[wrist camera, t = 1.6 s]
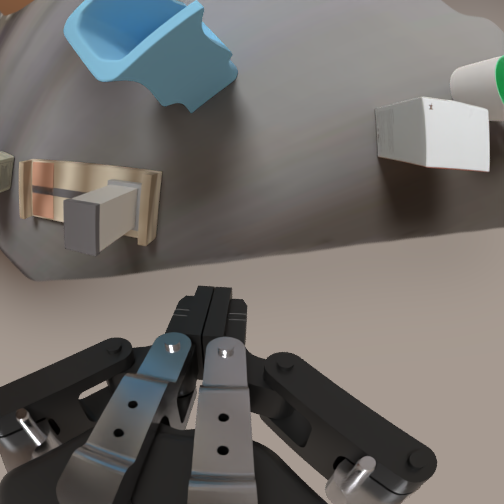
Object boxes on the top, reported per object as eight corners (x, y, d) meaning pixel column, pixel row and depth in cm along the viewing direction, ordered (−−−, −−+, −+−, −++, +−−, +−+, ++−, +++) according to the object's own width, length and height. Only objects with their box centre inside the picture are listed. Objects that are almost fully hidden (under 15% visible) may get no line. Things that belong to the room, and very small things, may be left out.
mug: (509, 101, 27) (554, 101, 17) (500, 144, 30) (546, 152, 20) (455, 56, 26) (498, 42, 16) (444, 101, 29) (490, 95, 19)
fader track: (33, 212, 39) (20, 217, 36) (33, 159, 36) (19, 162, 33) (156, 237, 39) (146, 246, 36) (162, 171, 36) (151, 175, 33)
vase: (242, 74, 31) (205, 6, 12) (191, 113, 33) (104, 92, 14) (205, 32, 29) (141, -48, 10) (156, 71, 31) (57, 28, 12)
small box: (376, 157, 33) (424, 168, 21) (373, 107, 31) (420, 94, 19) (431, 159, 32) (491, 173, 20) (429, 112, 30) (489, 107, 18)
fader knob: (109, 222, 37) (62, 251, 27) (111, 179, 35) (60, 196, 25) (141, 228, 37) (99, 260, 27) (144, 183, 35) (99, 202, 25)
